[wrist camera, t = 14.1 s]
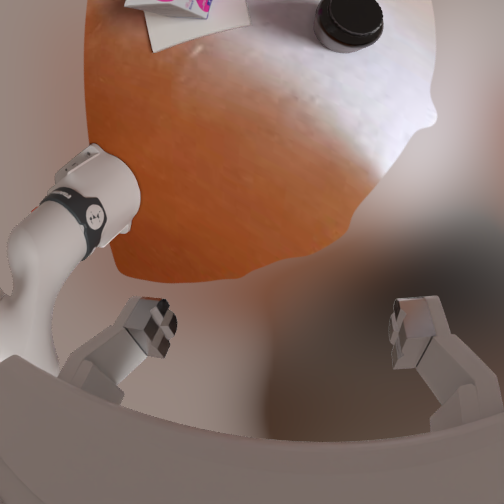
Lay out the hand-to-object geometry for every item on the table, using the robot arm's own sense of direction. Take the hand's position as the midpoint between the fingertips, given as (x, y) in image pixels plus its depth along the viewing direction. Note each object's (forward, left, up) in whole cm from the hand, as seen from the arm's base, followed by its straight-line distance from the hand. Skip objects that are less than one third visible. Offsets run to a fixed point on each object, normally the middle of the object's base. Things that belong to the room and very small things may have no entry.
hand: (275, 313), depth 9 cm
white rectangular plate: (-11, +21, -31) cm, 39 cm away
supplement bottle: (+7, +13, -31) cm, 35 cm away
